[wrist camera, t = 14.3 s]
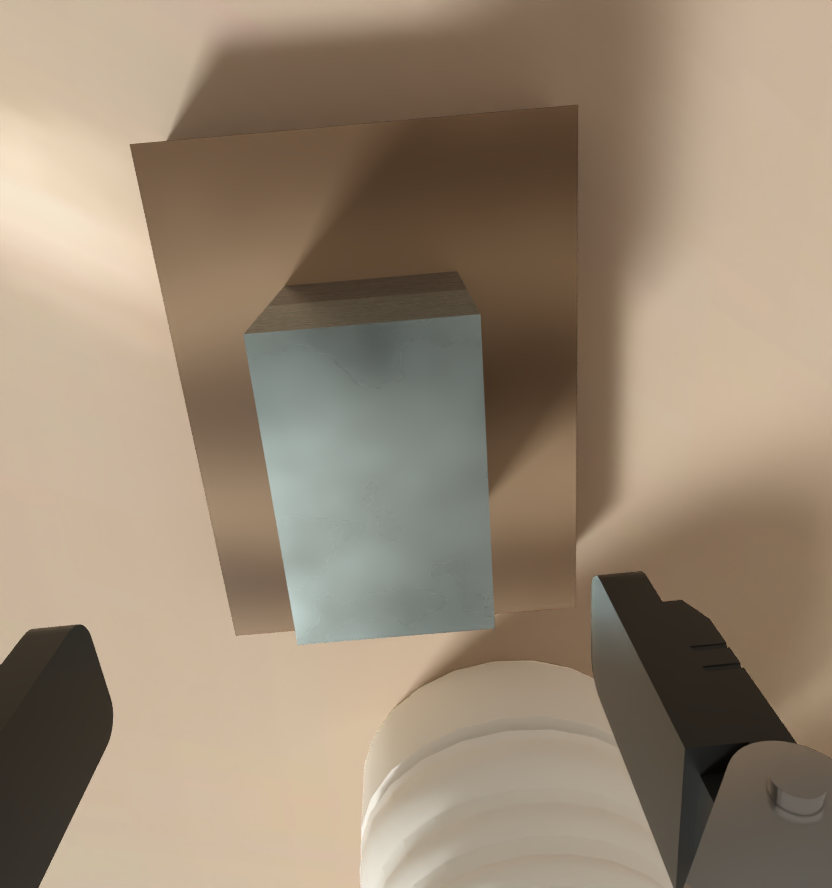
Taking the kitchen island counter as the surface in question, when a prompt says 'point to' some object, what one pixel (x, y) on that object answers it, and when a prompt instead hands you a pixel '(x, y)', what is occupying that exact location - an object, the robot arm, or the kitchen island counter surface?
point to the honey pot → (503, 788)
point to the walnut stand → (374, 256)
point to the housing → (377, 455)
